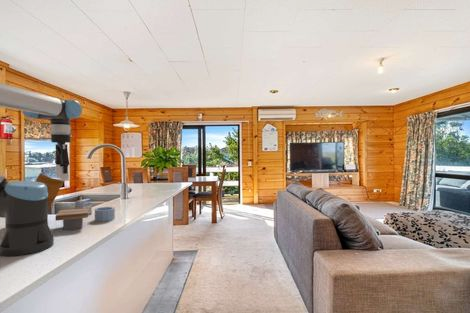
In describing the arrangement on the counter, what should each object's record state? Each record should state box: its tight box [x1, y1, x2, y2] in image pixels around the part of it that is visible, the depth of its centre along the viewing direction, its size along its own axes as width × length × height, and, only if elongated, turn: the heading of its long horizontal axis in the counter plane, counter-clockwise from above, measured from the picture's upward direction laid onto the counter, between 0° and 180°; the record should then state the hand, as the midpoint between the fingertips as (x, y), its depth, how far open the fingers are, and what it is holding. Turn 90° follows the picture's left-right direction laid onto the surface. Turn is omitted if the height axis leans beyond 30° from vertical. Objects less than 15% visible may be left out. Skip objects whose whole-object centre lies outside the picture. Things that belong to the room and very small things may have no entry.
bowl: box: [94, 206, 116, 222], centre depth 132 cm, size 9×9×6 cm
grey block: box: [62, 218, 84, 231], centre depth 118 cm, size 7×7×5 cm
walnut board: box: [55, 208, 89, 221], centre depth 118 cm, size 12×12×2 cm
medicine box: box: [74, 198, 93, 216], centre depth 140 cm, size 8×4×9 cm, turn 179°
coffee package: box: [34, 172, 65, 212], centre depth 124 cm, size 10×12×22 cm
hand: (62, 179), depth 121 cm, fingers open, 13 cm apart
